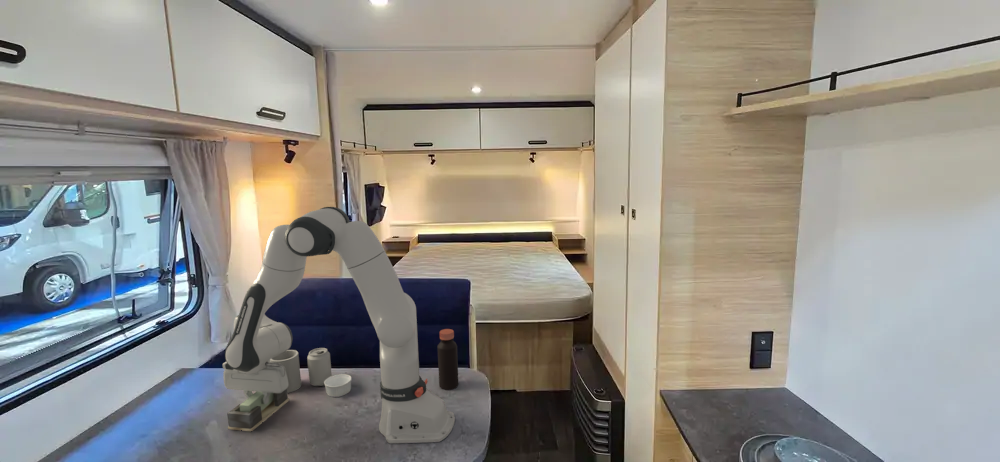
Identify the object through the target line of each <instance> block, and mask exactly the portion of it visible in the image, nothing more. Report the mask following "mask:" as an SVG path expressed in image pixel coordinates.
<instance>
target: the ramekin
mask: <svg viewBox="0 0 1000 462" xmlns="http://www.w3.org/2000/svg"><path fill="white" fill-rule="evenodd" d="M323 386H325V392H326V395H327V396H328V397H332V398H338V397H343V396H345V395H347V394H348V393H350V392H351V389H352V376H351V375H350V374H345V373H340V374H339V373H338V374H335V375H332V376H331V377H329V378H327V379H326V380H325V381H324V385H323Z"/></svg>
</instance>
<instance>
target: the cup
mask: <svg viewBox="0 0 1000 462" xmlns="http://www.w3.org/2000/svg"><path fill="white" fill-rule="evenodd" d="M270 362H273V363H280V364H281V365H283V366H284V367H285V371H286V375H287V379H288V384H289V385H288V387H287V394H290V393H293V392H294V391H297V390H298V389H299V388H301V386H302V377H301V368H300V357H299V352H298V351H297V350H296V349H288V350H286V351H285V352H283V353H281V354H279V355H277V356H275V357H274V358H272V359H270Z"/></svg>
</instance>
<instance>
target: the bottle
mask: <svg viewBox="0 0 1000 462" xmlns="http://www.w3.org/2000/svg"><path fill="white" fill-rule="evenodd" d="M454 337H455V331H454V330H453V328H452V329H450V328H444V329H441V330H440V331H439V340H440V342H439V343H438V344H437V363H438V385H439V388H440V389H442V390H445V391H450V390H454V389H456V388H457V387H458V386H459V365H458V364H459V363H458V345H457V343H456V341H454V339H455V338H454Z"/></svg>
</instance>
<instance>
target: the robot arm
mask: <svg viewBox="0 0 1000 462" xmlns="http://www.w3.org/2000/svg"><path fill="white" fill-rule="evenodd" d="M332 252H336V253H337V254H338V255H339V256H340V257H341V258H342V260H343V263H344V264H345V266H346V268H347V270H348V271H349V274H350V276H351V277H352V280H353V281H354V284H355V285H356V287H357V288H358V291H359V292H360V295H361V298H362V300H363V303H364V306H365V308H366V311H367V313H368V315H369V319H370V321H371V323H372V326H373V327H374V329H375V332H376V335H377V338H378V340H379V362H380V363H379V364H380V377H381V378H380V379H381V380H380V382H379V384H380V385H379V390H380V392H379V393H380V398H381V414H380V419H379V420H380V421H379V425H378V430H379V432H380V433H381V435H383V436H384V437H385V440H386V442H387V443H388V444H411V443H413V444H415V443H417V444H418V443H420V444H421V443H439V442H442V441H443V440H445V438H447V437H448V436H449V435H450V433H452V430H453V429H454V426H455V422H456V418H455V413H454V412H453V411H451V410H447V405H446V402H445V400H444V399H443V398H442V397H440V396H438V395H437V394H435V393H434V392H432V390H430V389H428V388H427V384H428V382H429V381H428V378H425V380H423V379H422V376H421V374H420V361H419V342H418V341H419V340H418V323H417V322H418V321H417V318H418V317H417V306H416V304H415V301H414V300H413V298H412V297H411V296H410V295H409V294H408V293H406V292H404V289H403V287H402V285H401V283H400V279H399V277H398V274H397V272H396V270H395V268H394V266H393V265H392V262H391V260H390V259H389V256H388V255H387V252H386V250H385V249H384V247H383V245H382V243H381V242H380V240H379V238H378V237H377V236H376V234H375V233H374V231H373V230H372V229H371V227H370V226H369V224H367V223H366V222H364V221H362V220H353V221H350V218H349V216H348V215H347V213H346V212H345V211H344V210H342V209H341V208H338V207H336V206H324V207H322V208H319V209H316V210H312V211H309V212H307V213H305V214H303V215H302V216H300V217H297V218H295V219H294V220H293V221H292V222H291V223H290V224H282V225H278V226H275V227H274V228H273V229H272V230H271V232H270V234H269V236H268V238H267V242H266V244H265V248H264V252H263V256H262V262H261V267H260V270H259V272H258V273H257V275H256V278H255V279H254V281H253V283H251V286H249V288H248V289H247V291H246V293H245V296H244V298H243V301H242V304H241V307H240V310H239V314H238V315H236V316H235V317H234V320H233V331H232V335H231V337H230V339H229V340H228V342H227V345H226V347H225V350H224V359H225V362H223V363H222V368H223V374H222V375H223V376H222V377H223V386H224V387H225V388H226V390H234V391H243V394H244V396H246V399H248V398H249V397H250V396H252V395H253V394H254V393H253V392H256V391H257V392H263V395H264V397H263V398H262V399H261V404H267V403H268V402H269V395H270V393H282V392H283V391H284V390H286V389H287V387H288V385H289V384H288V379H287V375H286V371H285V367H284V366H283V365H281V364H280V363H273V362H270V359H272V358H274V357H275V356H277V355H279V354H281V353H283V352H285V351H286V350H290V348H291V346H292V343H293V332H292V330H291V328H290V327H289V326H288V325H287V324H286V323H283V322H279V321H278V322H277V321H275V320H273V319H271V318H269V317H268V316H267V315H266V312H267V311H268V310H269V309H270V308H271V307H272V305H274V304H276V303H277V302H278V301H279V300H281V299H282V298H284V297H286V296H287V295H289V294H290V293H291V292H293V291H294V290H296V289H297V288H298V287H299V286H300V284H301V282H302V280H303V277H304V274H305V271H306V270H305V269H306V264H307V258H308V257H314V256H321V255H322V256H325V255H326V256H327V255H329V254H331V253H332Z"/></svg>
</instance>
